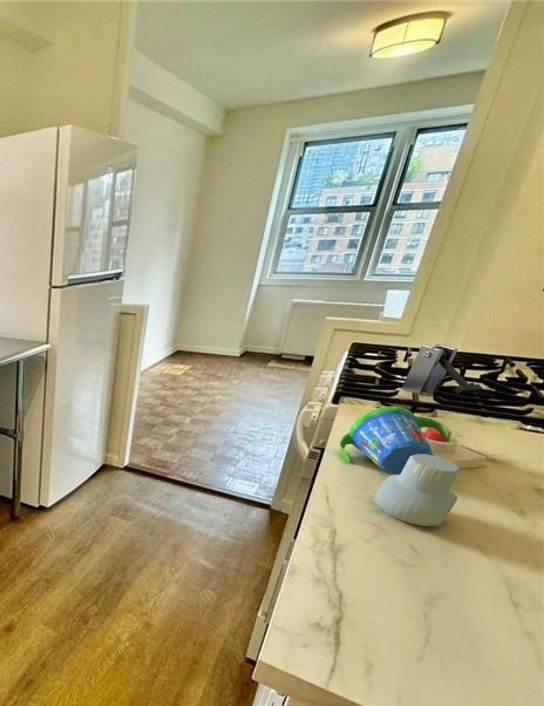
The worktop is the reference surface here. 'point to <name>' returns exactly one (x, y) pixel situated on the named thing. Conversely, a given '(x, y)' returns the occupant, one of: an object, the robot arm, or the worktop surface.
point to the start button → (434, 435)
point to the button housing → (455, 453)
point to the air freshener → (420, 491)
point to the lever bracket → (428, 369)
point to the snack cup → (390, 437)
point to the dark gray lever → (457, 377)
